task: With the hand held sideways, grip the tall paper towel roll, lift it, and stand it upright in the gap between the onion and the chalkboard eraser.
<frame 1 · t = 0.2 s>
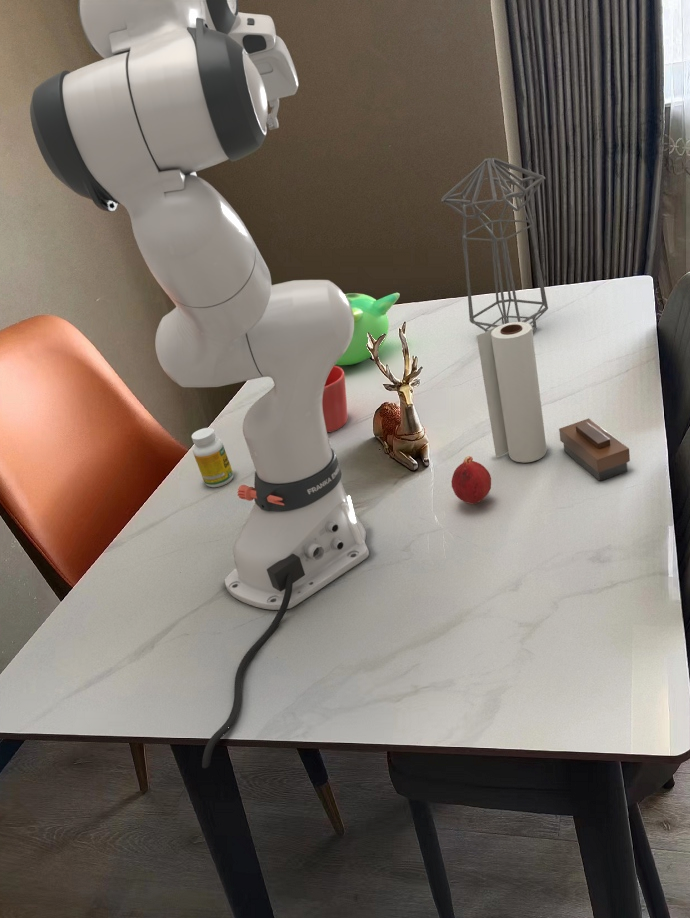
hand: (244, 134, 132), 52 cm above the table, tool tilted 20°, fingers open, 8 cm apart
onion: (475, 504, 129), on the table
chalkboard eraser: (594, 460, 132), on the table
geometric lantern: (512, 335, 180), on the table
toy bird: (358, 360, 186), on the table
supplement bottle: (220, 481, 153), on the table
paper towel roll: (525, 454, 138), on the table
flower pot: (328, 425, 163), on the table
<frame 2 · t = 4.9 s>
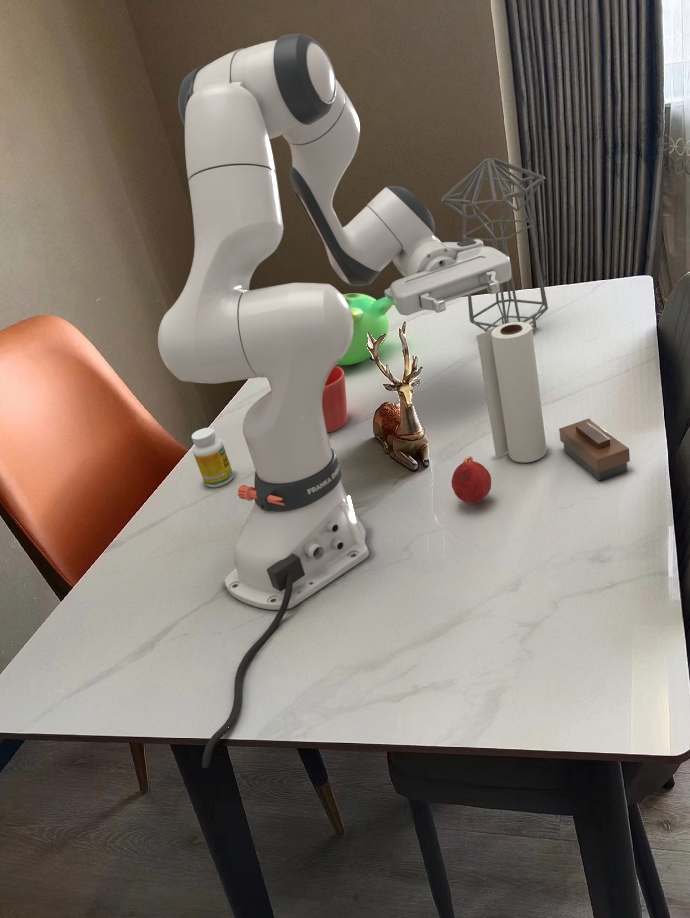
hand: (468, 298, 137), 23 cm above the table, tool horizontal, fingers open, 8 cm apart
nothing on the table moved.
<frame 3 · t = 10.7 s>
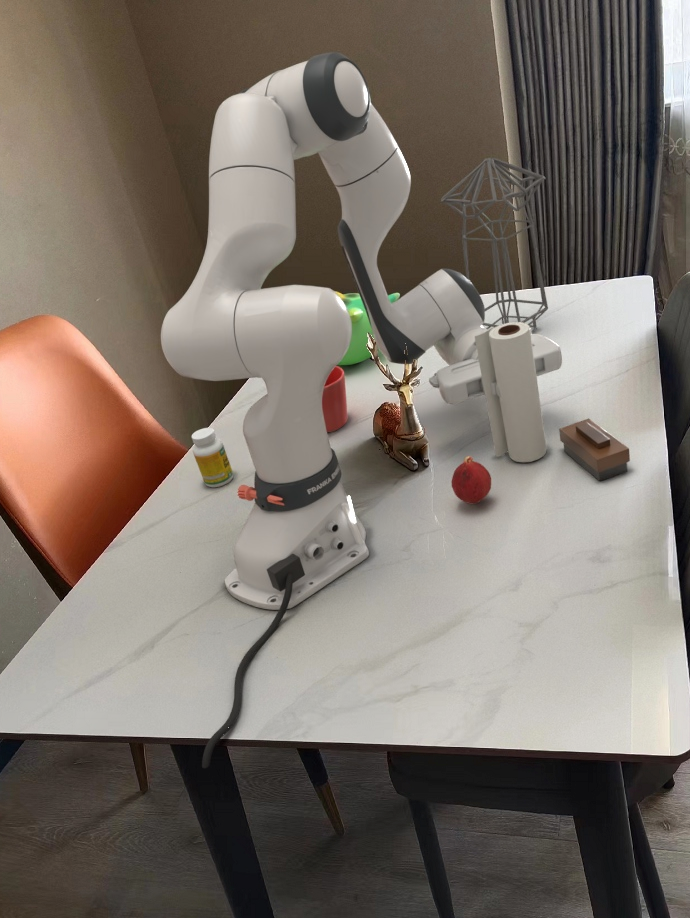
hand: (518, 387, 131), 12 cm above the table, tool horizontal, fingers closed on paper towel roll, 3 cm apart
paper towel roll: (525, 454, 138), on the table, touching gripper
everything else where it was.
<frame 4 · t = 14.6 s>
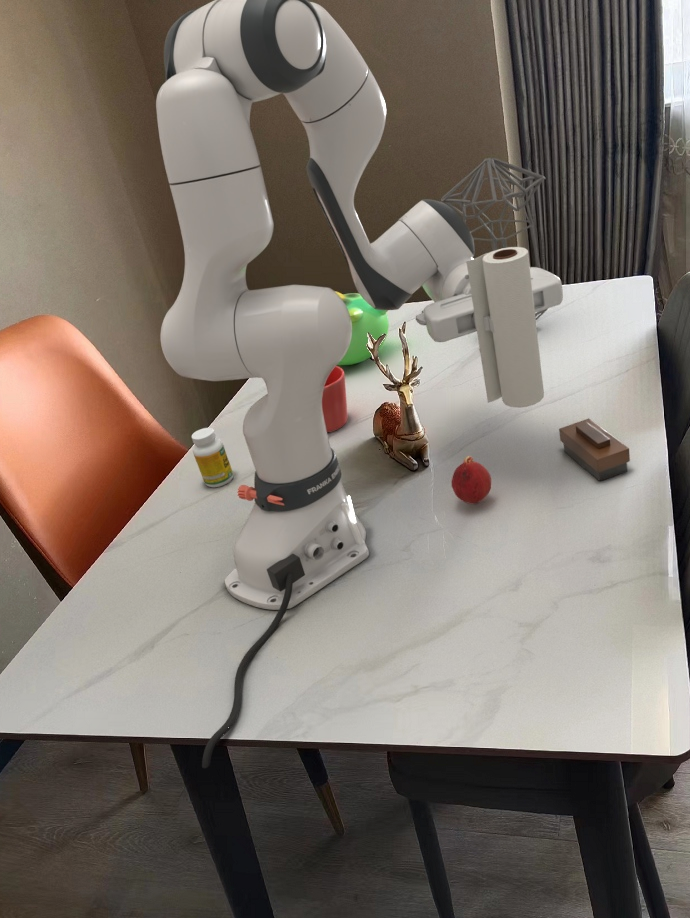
hand: (514, 321, 117), 25 cm above the table, tool horizontal, fingers closed on paper towel roll, 3 cm apart
paper towel roll: (520, 399, 125), point 13 cm above the table, touching gripper
everything else where it was.
when the fingers open (12 cm above the table, at t = 18.6 s): paper towel roll stays where it is, on the table.
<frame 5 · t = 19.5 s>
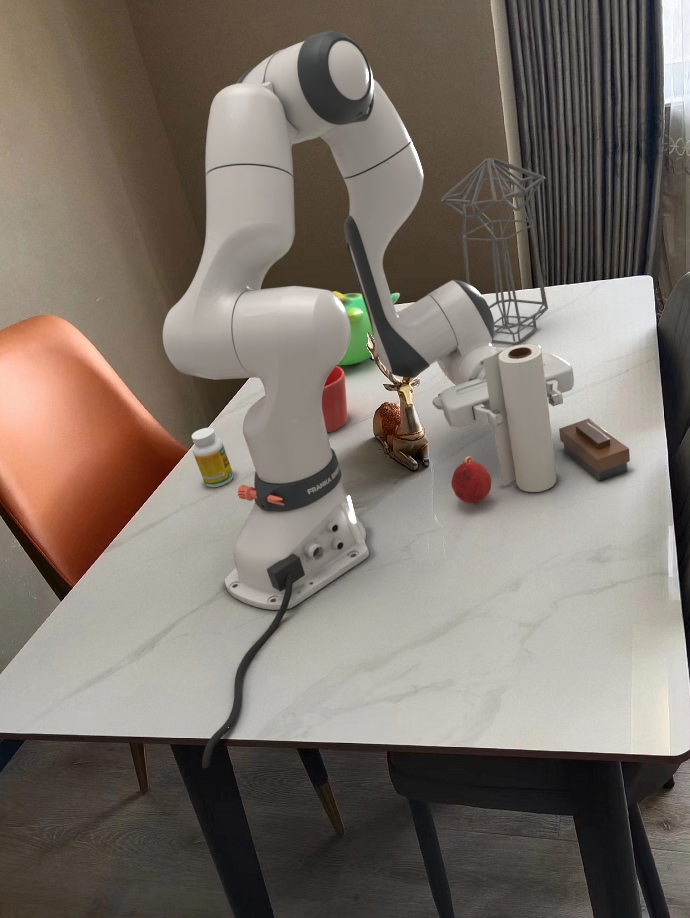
hand: (528, 410, 123), 13 cm above the table, tool horizontal, fingers open, 8 cm apart
paper towel roll: (533, 482, 131), on the table
everything else where it was.
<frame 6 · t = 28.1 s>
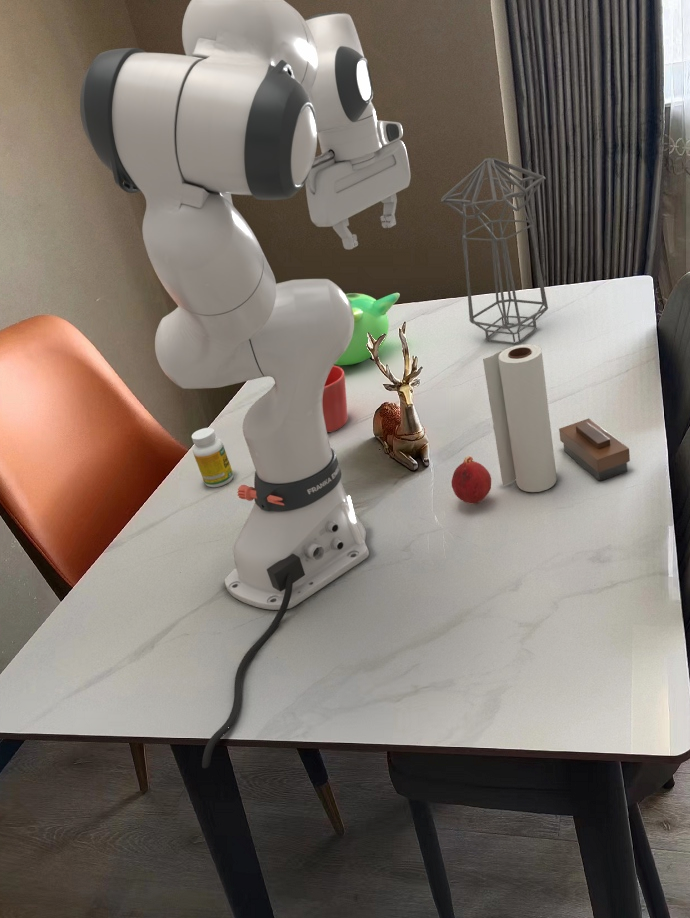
hand: (370, 237, 132), 35 cm above the table, tool pointing down, fingers open, 8 cm apart
nothing on the table moved.
at the end: paper towel roll 9.8 cm from the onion (horizontally); paper towel roll 10.2 cm from the chalkboard eraser (horizontally); paper towel roll tilted 0° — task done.
